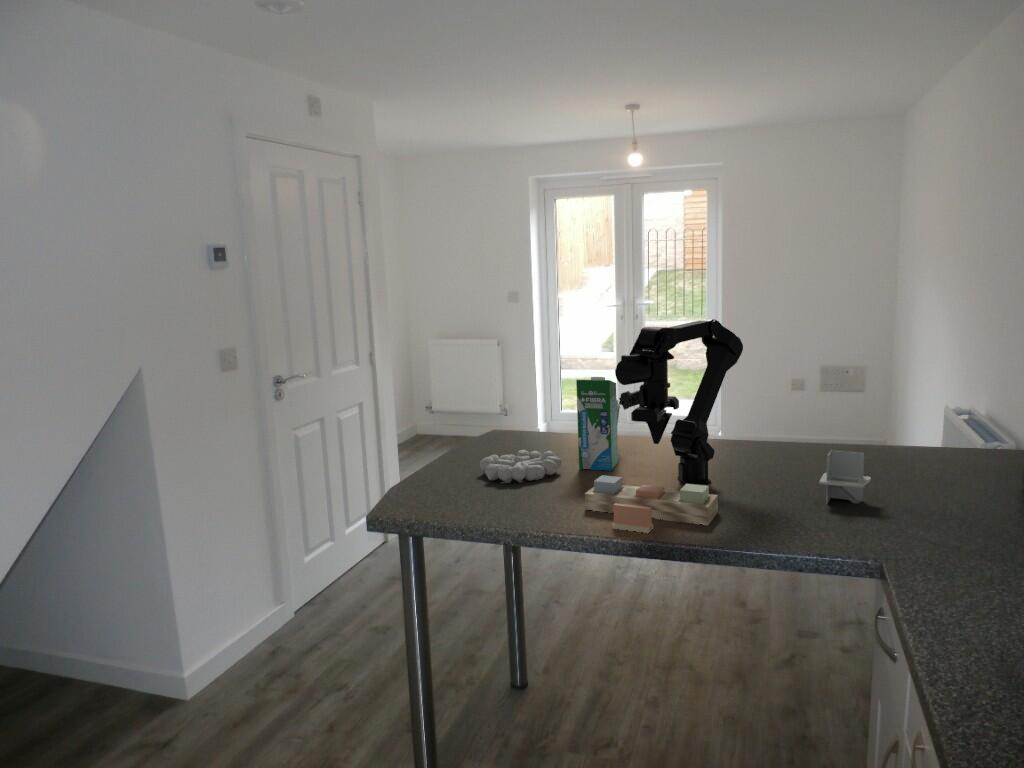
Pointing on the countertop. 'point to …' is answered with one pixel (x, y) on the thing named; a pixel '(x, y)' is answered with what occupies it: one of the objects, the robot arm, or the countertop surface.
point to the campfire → (520, 465)
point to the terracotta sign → (632, 518)
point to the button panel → (656, 505)
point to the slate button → (608, 484)
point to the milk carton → (597, 424)
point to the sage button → (694, 493)
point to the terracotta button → (650, 491)
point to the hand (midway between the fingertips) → (656, 443)
